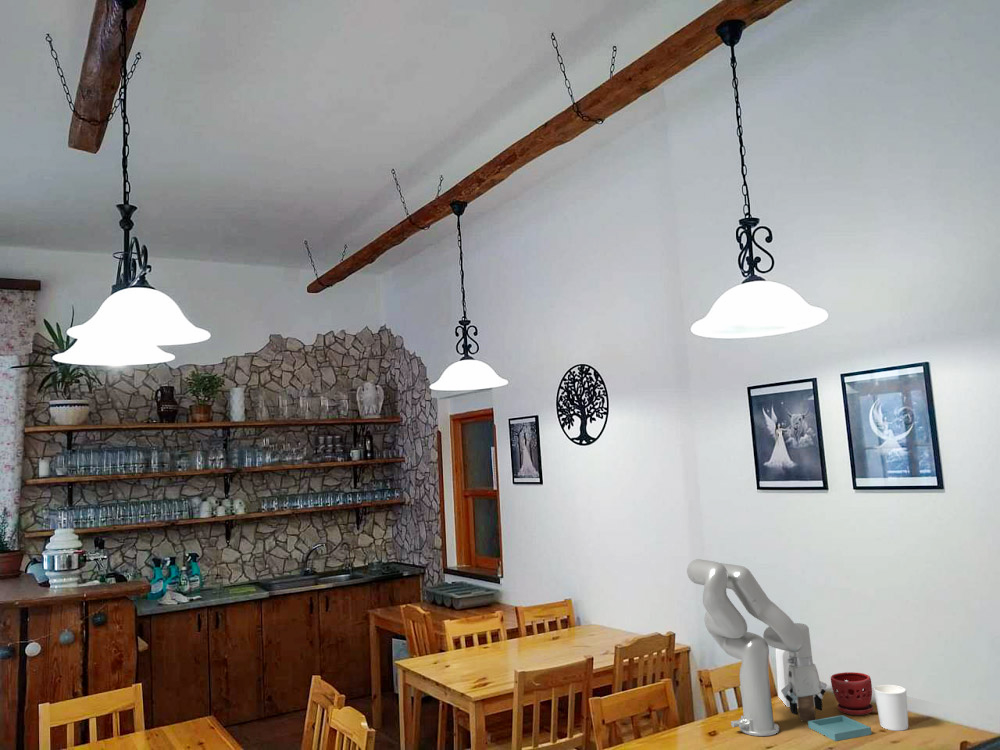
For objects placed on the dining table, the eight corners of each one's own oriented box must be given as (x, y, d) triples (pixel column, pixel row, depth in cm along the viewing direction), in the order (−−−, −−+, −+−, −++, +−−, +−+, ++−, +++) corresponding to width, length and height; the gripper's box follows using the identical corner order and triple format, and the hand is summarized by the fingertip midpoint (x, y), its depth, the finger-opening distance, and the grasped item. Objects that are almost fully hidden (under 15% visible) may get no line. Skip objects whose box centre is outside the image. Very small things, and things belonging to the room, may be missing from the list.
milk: (778, 698, 293) (770, 627, 296) (809, 696, 292) (801, 625, 295) (786, 708, 281) (778, 634, 284) (819, 706, 280) (811, 632, 283)
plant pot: (866, 704, 279) (862, 670, 280) (881, 716, 266) (876, 680, 267) (829, 706, 280) (825, 671, 281) (841, 718, 267) (837, 682, 268)
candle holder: (880, 720, 263) (876, 683, 264) (913, 723, 257) (908, 686, 258) (875, 729, 255) (870, 691, 256) (908, 733, 249) (903, 694, 250)
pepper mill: (805, 722, 265) (802, 693, 266) (796, 718, 270) (793, 689, 271) (818, 720, 266) (815, 691, 267) (809, 716, 271) (806, 687, 272)
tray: (835, 741, 247) (834, 733, 247) (808, 728, 260) (807, 721, 260) (871, 734, 250) (870, 727, 251) (843, 721, 263) (842, 715, 264)
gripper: (785, 666, 265) (791, 718, 263) (829, 659, 269) (835, 711, 267) (772, 661, 272) (778, 712, 270) (815, 655, 276) (821, 705, 274)
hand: (806, 711), depth 268 cm, fingers open, 9 cm apart
